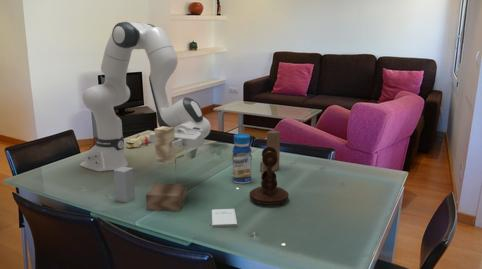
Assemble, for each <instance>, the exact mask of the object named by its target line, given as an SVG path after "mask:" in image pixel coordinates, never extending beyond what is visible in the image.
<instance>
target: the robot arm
mask: <svg viewBox="0 0 482 269" xmlns="http://www.w3.org/2000/svg"><path fill="white" fill-rule="evenodd" d="M133 50H144V51H145V53H146V56H147V59H148V61H149V67H150V69H149V71H150V72H149V76H148V80H149V86H150V90H151V94H152V98H153V102H154V107H155V110H156V121H157V124H158V126H159V127H162V126H164V127H174V133H175V141H171V142H170V147H175V148H176V147H180V148H191V149H194V148H195V149H197V148H199V147H203V146H204V144H205V142H204V141H205V138H207V137H208V136H209V135H210V132H211V130H212V126H211V122H210V120H208V119H207V118H206V117H204V116H203V115H204V114H203V110H202V108H201V106H200V104H199V103H198V102H197V101H196V100H194V98H191V97H188V96H187V97H184V98H181V99H180V100H179V101H175V103H173V104H171V105H169V100H168V95H167V92H166V85H167V83H168V81H169V79H170V78H171V76H172V75H173V74H174V72H175V70H176V68H177V66H178V62H179V61H178V55H177V53H176V50H175V48H174V46H173V44H172V41H171V40H170V38H169V37H168V35H167V33H166V32H165V30H164V29H163V28H161V27H159V26H155V25H154V24H151V23H145V22H138V21H137V22H135V21H134V22H131V21H130V22H128V21H122V22H118V23H116V24H115V25H114V27H113V28H112V31H111V34H110V36H109V38H108V40H107V43H106V46H105V49H104V53H103V57H102V62H101V65H100V69H101V70H100V71H101V72H102V73H103V75H104V82H103V84H95V85H91V86H90V87H89V88H86V89H85V90H84V91H83V93H82V102H83V104H84V106H85V107H86V108H87V109H89V111H91V113H92V115H93V117H94V120H95V124H96V130H97V137H96V138H95V137H94V138H93V142H95V144H94V145H93V146H91V148H89V150H87V151H86V153H85V155H84V156H85V157H84V160H83V161H82V162H80V164H79V165H80V166H79V167H82V168H85V169H88V170H92V171H95V172H107V171H114V170H115V169H118V168H120V167H122V166H123V167H128V165H129V163H128V161H127V157H126V156H127V155H126V151H125V147H124V146H125V138H124V135H123V123H122V119H121V118H120V117H119V116H117V114H116V112H115V109H114V107H117V106H120V105H122V104H124V103H126V102H128V101H129V99H130V97H131V90H130V88H129V86H128V85H127V73H128V70H129V69H128V68H129V64H130V60H131V56H132V52H133ZM149 135H150V141H149V142H150V143H152V144H155V131H153V132H149Z"/></svg>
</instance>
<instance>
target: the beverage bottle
mask: <svg viewBox="0 0 482 269" xmlns="http://www.w3.org/2000/svg"><path fill="white" fill-rule="evenodd" d="M250 142H251V136H250V135H249V134H247V133H236V134H234V135H233V144H234V145H233V148H232V150H231V152H232V155H231V160H232V182H233V183H235V184H240V185H241V184H242V185H243V184H248V183H250V182H251V181H252V160H253V156H252V151H253V150H252V148H251V146H250Z"/></svg>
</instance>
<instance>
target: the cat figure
mask: <svg viewBox="0 0 482 269" xmlns="http://www.w3.org/2000/svg"><path fill="white" fill-rule="evenodd" d="M159 127H160V126H159ZM159 127H157V128H159ZM149 142H150V134H146V135H141V136H140V134H138V135H137V136H136V137H135V138H128V140H127V141H126V147H127V148H128V149H130V148H131V149H132V148H139V147H141V146H142V144H143V143H145V145H144V146H149V144H150V143H149Z"/></svg>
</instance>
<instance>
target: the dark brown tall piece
mask: <svg viewBox="0 0 482 269" xmlns="http://www.w3.org/2000/svg"><path fill="white" fill-rule="evenodd" d="M261 156H262V158H261V162H262V161H263V163H262V170H261V171H260V182H261V183H260V184H261V186H257V187H255V188H253V189H252V190H250V191H249V196H248V197H249V198H250V199H251V200H252V201H253V202H254V203H255V205H256V206H257V205H258V203H259V204H264V205H277V204H280V205H281V206H284V202H286V201H287V200H288V199H289V192H288V191H287V190H285V189H284V188H281V187H279V186H278V180H277V174H276V173H275V171H272V167H273V166H274V165H275V164H276V163H277V161H278V157H277V152H276V150H275V149H274V148H273V147H267V146H266V147H265V148H263V149H262V152H261ZM264 165H265V166H266V167H267V171H265V172H263V168H264Z"/></svg>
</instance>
